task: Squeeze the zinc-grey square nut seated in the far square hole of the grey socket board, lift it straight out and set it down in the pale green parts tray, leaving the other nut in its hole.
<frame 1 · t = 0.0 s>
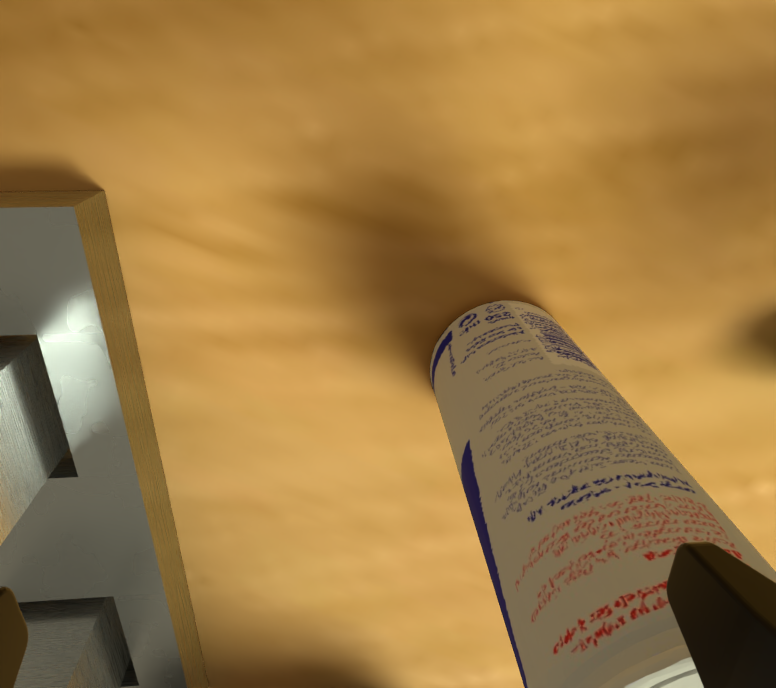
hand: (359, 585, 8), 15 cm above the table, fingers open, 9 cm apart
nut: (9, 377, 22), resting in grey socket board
grey socket board: (48, 501, 24), on the table
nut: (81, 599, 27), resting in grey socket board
beverage can: (494, 357, 23), on the table
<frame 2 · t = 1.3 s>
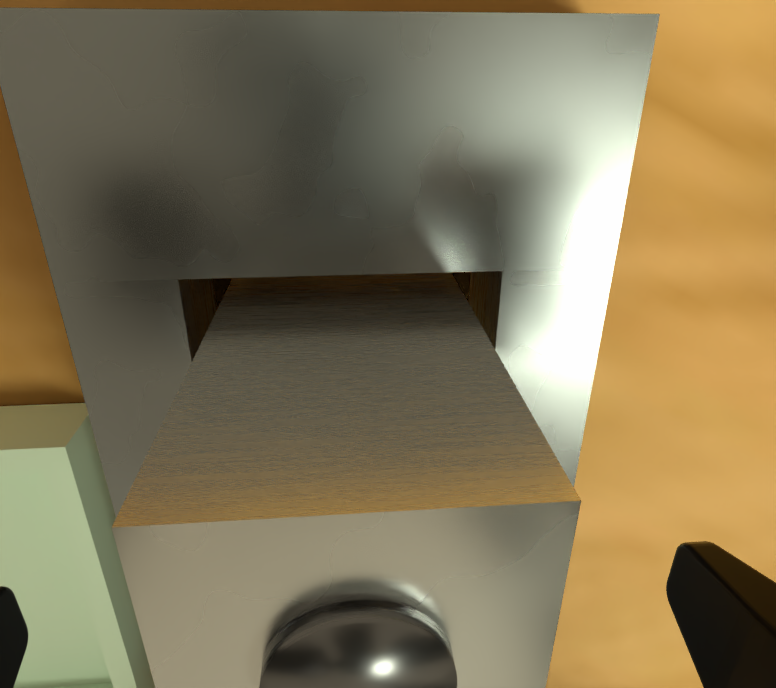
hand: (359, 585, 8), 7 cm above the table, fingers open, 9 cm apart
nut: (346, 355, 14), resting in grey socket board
grey socket board: (352, 542, 16), on the table
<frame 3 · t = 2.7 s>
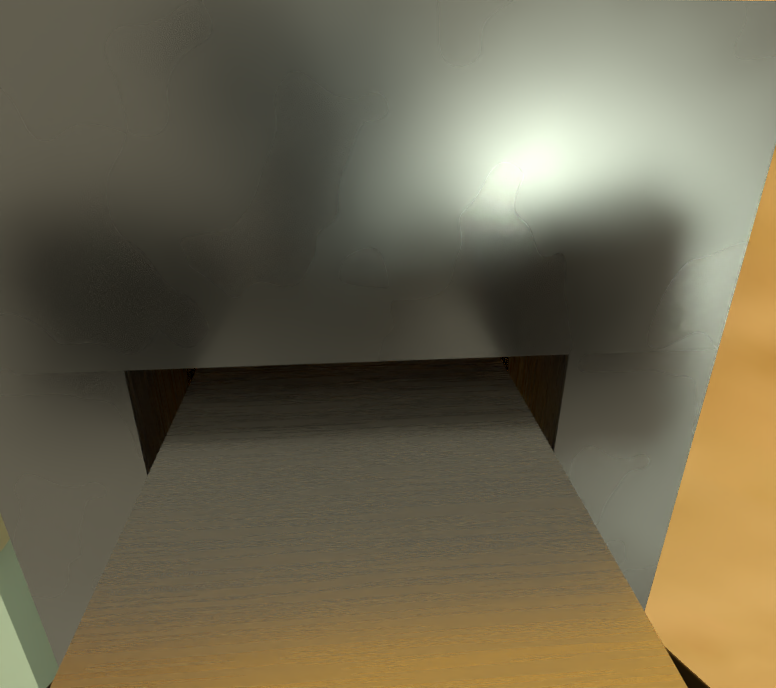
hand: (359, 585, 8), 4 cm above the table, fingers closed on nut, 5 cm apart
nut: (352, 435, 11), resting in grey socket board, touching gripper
grey socket board: (359, 646, 14), on the table
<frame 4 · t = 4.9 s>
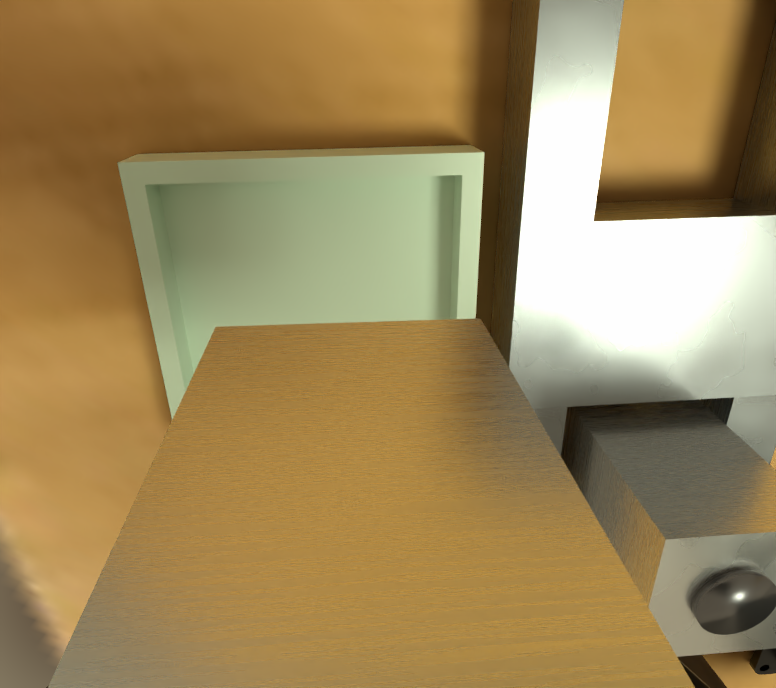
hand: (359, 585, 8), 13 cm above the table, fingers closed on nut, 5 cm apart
tray: (319, 303, 19), on the table
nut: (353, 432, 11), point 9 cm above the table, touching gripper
grey socket board: (632, 289, 20), on the table
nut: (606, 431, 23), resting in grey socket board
coffee cup: (625, 641, 29), on the table
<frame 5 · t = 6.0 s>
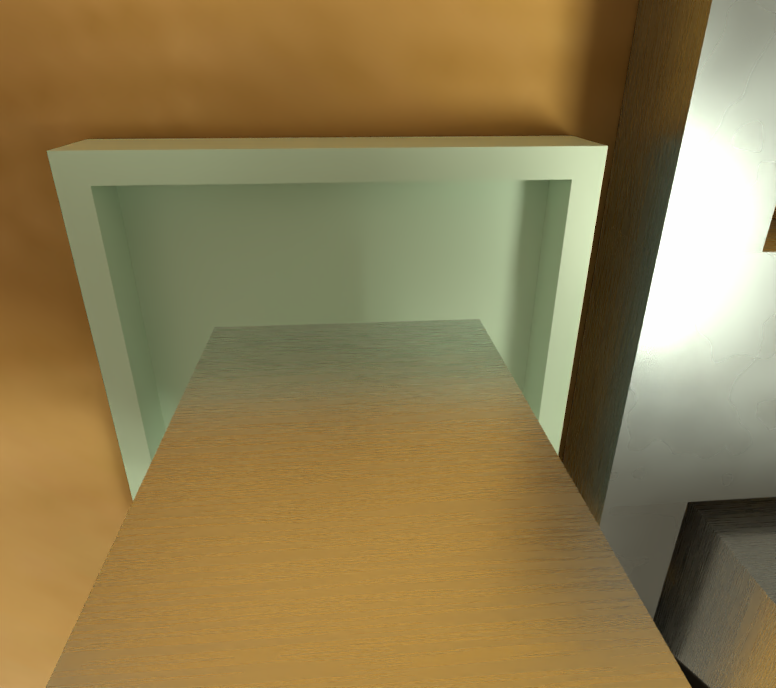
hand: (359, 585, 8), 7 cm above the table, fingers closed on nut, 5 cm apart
tray: (344, 352, 14), on the table
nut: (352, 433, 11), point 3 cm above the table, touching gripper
grey socket board: (768, 337, 15), on the table
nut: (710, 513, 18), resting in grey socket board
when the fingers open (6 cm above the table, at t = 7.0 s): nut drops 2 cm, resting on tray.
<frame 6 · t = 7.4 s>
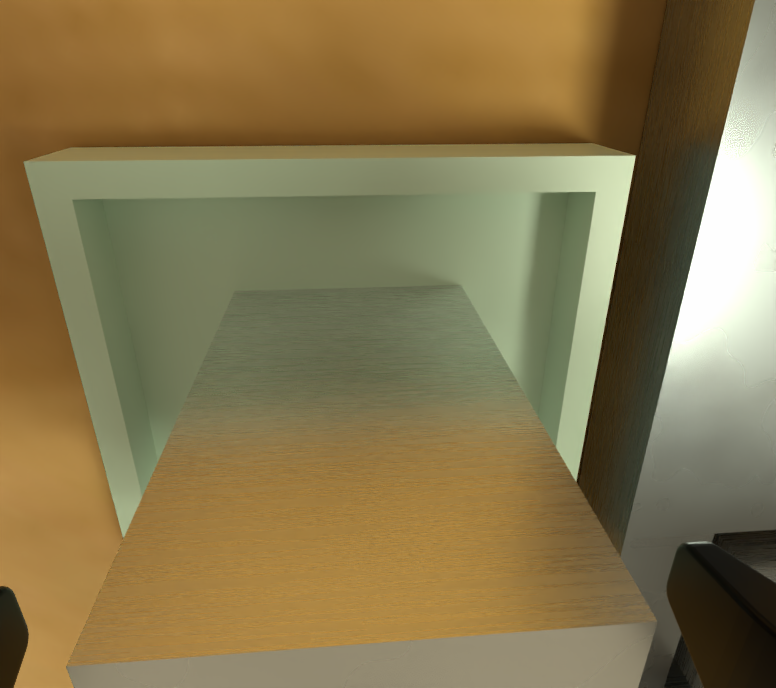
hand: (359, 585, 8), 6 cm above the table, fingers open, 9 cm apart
tray: (348, 373, 13), on the table
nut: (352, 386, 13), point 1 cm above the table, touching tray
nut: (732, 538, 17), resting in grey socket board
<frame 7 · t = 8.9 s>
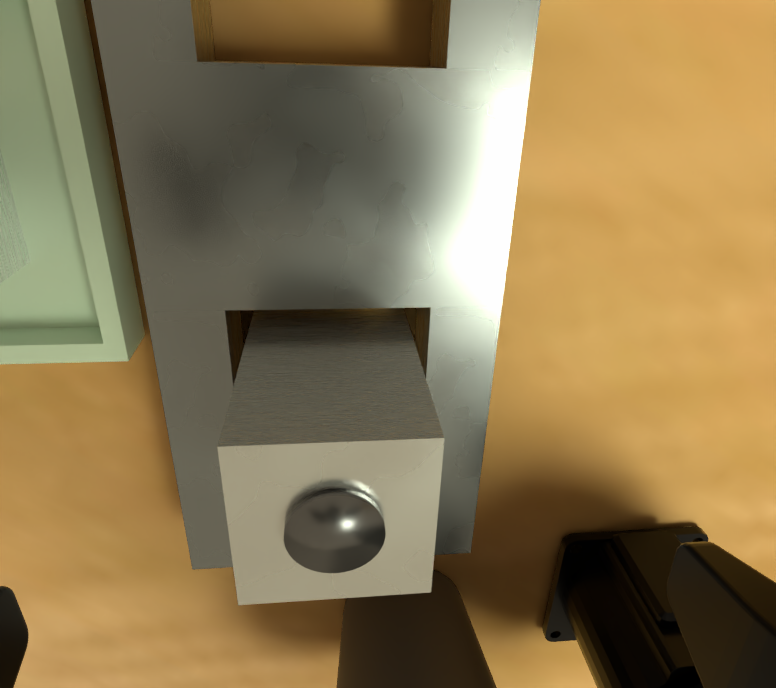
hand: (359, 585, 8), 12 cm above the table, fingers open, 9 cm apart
grey socket board: (326, 179, 17), on the table
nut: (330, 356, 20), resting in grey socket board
coffee cup: (401, 604, 26), on the table
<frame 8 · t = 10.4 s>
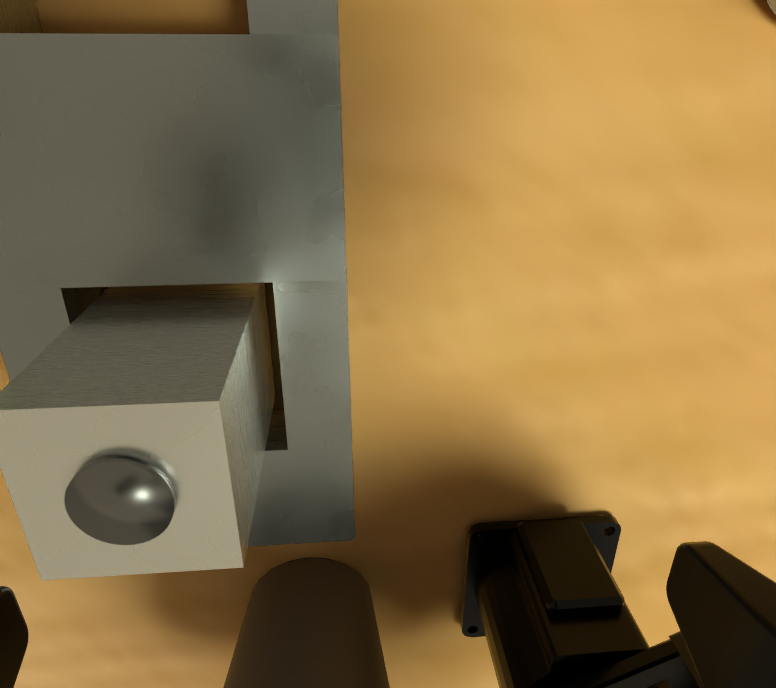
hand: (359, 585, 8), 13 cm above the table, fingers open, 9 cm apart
grey socket board: (172, 157, 17), on the table
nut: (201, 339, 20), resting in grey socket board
coffee cup: (311, 598, 26), on the table
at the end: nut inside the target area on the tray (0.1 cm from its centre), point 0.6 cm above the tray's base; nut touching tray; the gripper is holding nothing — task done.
